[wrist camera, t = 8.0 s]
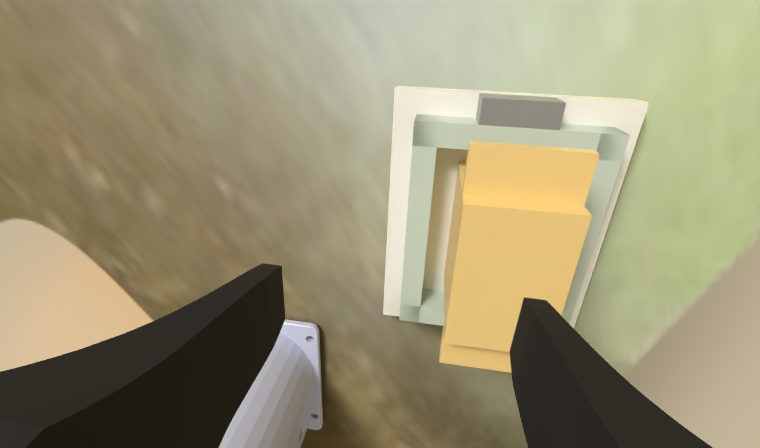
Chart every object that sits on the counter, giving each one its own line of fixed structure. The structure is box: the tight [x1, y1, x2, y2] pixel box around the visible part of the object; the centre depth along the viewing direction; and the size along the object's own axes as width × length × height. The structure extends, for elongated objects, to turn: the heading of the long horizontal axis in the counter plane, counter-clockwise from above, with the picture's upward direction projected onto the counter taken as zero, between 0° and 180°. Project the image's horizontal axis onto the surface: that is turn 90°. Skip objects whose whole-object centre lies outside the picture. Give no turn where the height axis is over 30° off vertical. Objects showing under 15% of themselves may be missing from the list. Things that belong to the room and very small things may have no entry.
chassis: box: [383, 86, 649, 329], centre depth 18 cm, size 12×10×2 cm
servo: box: [439, 141, 600, 373], centre depth 16 cm, size 10×4×5 cm, turn 178°
